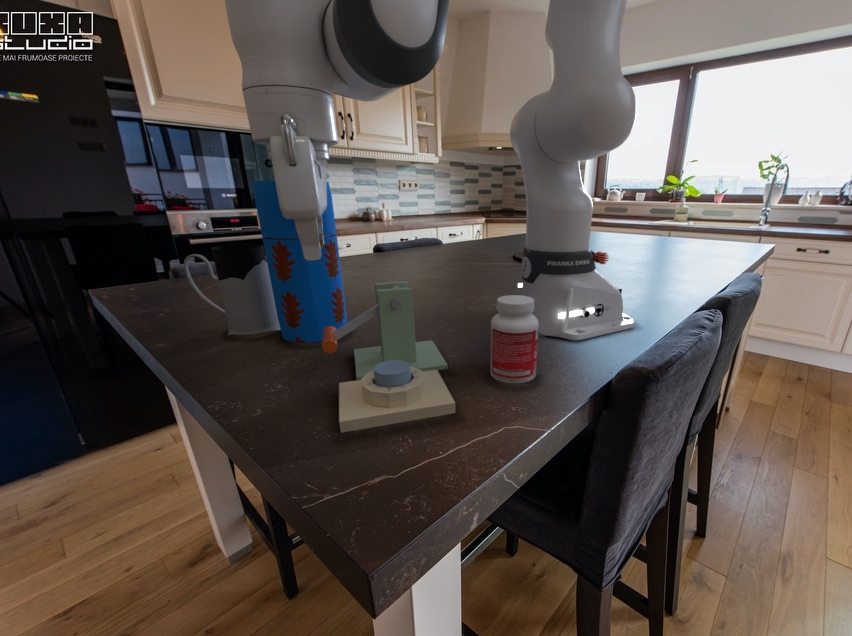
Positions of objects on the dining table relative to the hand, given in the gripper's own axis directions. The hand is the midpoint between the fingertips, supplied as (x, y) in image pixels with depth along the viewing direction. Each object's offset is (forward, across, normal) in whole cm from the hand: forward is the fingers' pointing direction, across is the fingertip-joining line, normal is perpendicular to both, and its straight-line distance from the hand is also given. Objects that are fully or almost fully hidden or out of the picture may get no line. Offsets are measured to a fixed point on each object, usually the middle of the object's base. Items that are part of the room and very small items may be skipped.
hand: (315, 253), depth 48 cm
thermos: (+17, +17, +3) cm, 24 cm away
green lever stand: (+17, 0, -9) cm, 19 cm away
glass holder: (+16, +24, +16) cm, 33 cm away
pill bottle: (+17, -9, -23) cm, 30 cm away
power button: (+13, -12, -7) cm, 19 cm away
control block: (+17, -12, -7) cm, 21 cm away
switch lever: (+10, 0, -5) cm, 11 cm away
